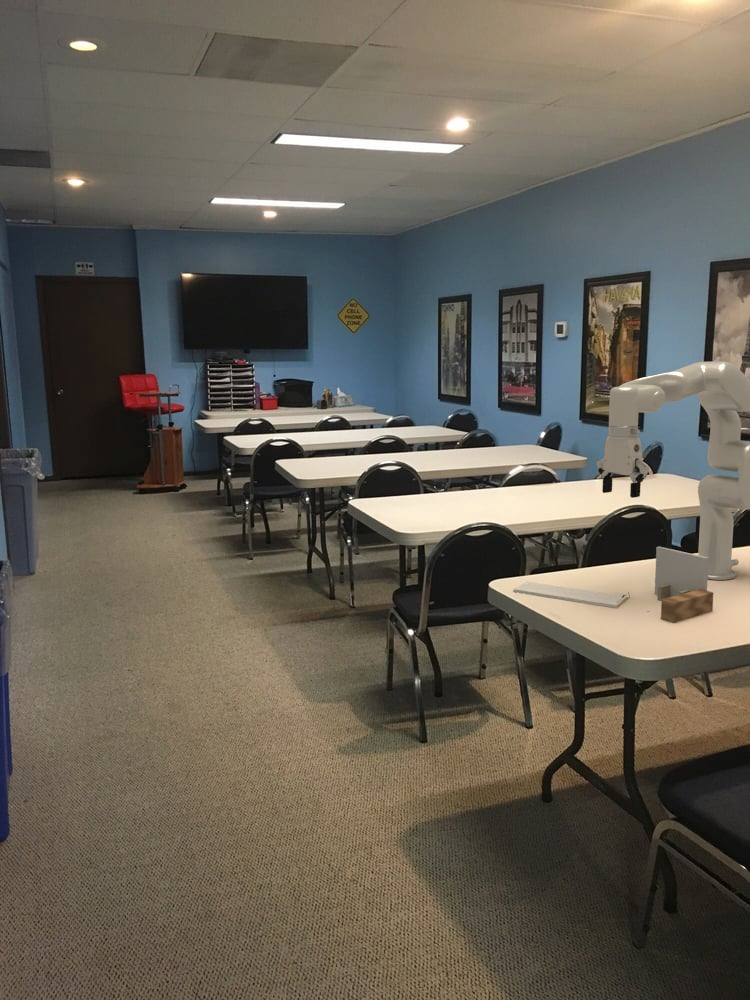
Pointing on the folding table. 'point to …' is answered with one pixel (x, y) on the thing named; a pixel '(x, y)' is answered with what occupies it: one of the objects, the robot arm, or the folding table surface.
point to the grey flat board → (572, 594)
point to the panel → (679, 572)
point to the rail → (686, 605)
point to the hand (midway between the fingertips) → (620, 494)
